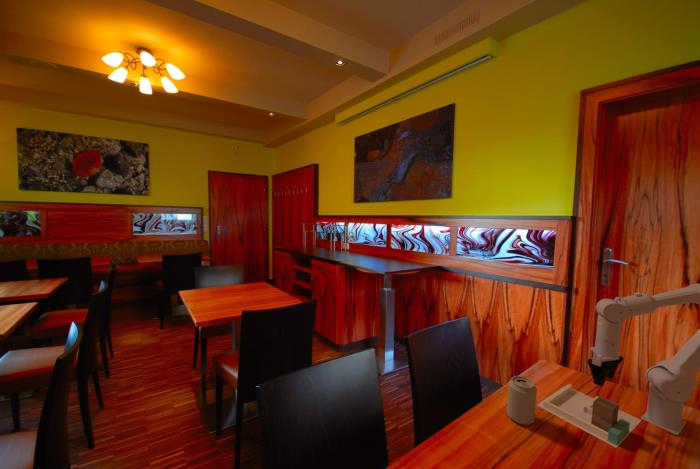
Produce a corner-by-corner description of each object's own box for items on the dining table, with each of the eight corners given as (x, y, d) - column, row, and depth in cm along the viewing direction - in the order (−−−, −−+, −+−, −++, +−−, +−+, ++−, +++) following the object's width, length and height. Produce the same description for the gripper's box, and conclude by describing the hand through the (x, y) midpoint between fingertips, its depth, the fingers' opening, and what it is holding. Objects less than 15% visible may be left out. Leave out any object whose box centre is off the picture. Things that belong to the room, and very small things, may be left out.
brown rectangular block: (597, 421, 93) (599, 396, 92) (616, 430, 89) (619, 404, 88) (590, 426, 91) (593, 401, 90) (609, 436, 87) (612, 410, 86)
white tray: (565, 387, 111) (565, 377, 110) (641, 421, 94) (642, 410, 93) (536, 406, 100) (537, 396, 100) (616, 449, 83) (617, 437, 83)
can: (527, 410, 99) (530, 374, 97) (539, 427, 91) (542, 389, 90) (502, 408, 99) (505, 373, 98) (512, 425, 92) (515, 387, 90)
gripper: (601, 328, 102) (597, 367, 104) (582, 339, 95) (578, 381, 96) (629, 337, 97) (624, 378, 98) (610, 349, 89) (606, 393, 90)
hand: (603, 380), depth 97 cm, fingers open, 7 cm apart
